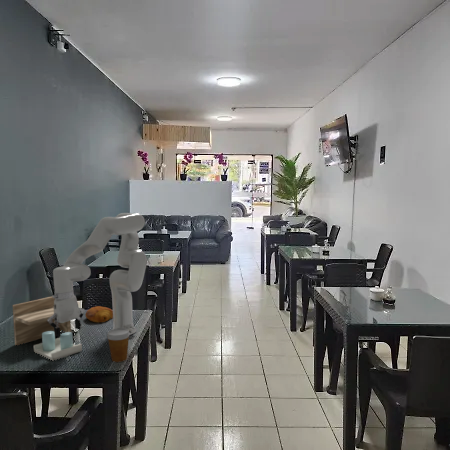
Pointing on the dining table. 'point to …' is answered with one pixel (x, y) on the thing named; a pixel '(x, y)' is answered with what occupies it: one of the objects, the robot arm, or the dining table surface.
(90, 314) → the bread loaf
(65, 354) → the tray
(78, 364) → the dining table surface
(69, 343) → the pale blue cylinder
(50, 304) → the wooden stand
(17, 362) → the dining table surface
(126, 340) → the disposable coffee cup
